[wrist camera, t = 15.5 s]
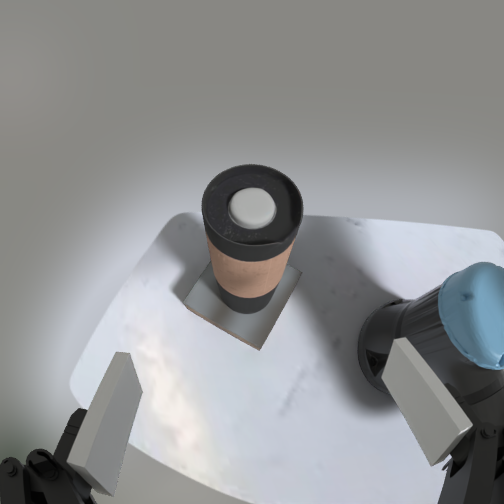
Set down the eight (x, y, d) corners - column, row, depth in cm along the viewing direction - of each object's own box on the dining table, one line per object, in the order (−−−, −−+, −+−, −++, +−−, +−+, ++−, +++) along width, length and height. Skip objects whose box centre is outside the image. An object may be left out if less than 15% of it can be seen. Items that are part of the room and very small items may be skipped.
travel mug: (218, 263, 40) (203, 163, 22) (273, 262, 40) (298, 163, 22) (218, 317, 36) (196, 249, 18) (276, 315, 37) (312, 247, 19)
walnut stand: (297, 282, 43) (302, 272, 40) (259, 350, 38) (261, 347, 35) (229, 246, 45) (229, 234, 42) (188, 309, 41) (183, 302, 37)
